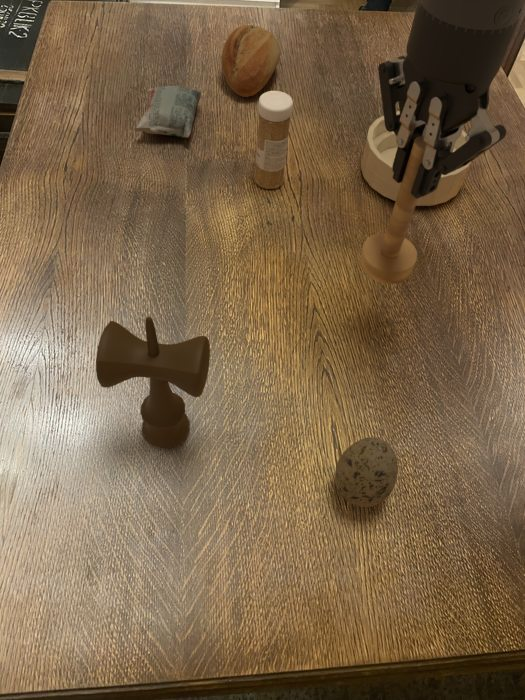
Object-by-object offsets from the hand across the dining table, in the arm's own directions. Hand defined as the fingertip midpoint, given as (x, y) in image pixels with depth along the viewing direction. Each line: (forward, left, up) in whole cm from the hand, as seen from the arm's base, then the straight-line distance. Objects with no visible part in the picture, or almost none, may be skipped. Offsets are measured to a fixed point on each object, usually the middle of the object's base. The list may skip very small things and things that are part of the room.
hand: (411, 185), depth 59 cm
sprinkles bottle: (+10, -27, -22) cm, 36 cm away
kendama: (+25, +14, -22) cm, 36 cm away
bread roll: (+11, -54, -22) cm, 59 cm away
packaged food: (+25, -41, -22) cm, 53 cm away
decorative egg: (+5, +22, -22) cm, 31 cm away
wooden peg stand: (0, 0, -11) cm, 11 cm away
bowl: (-12, -28, -22) cm, 37 cm away
